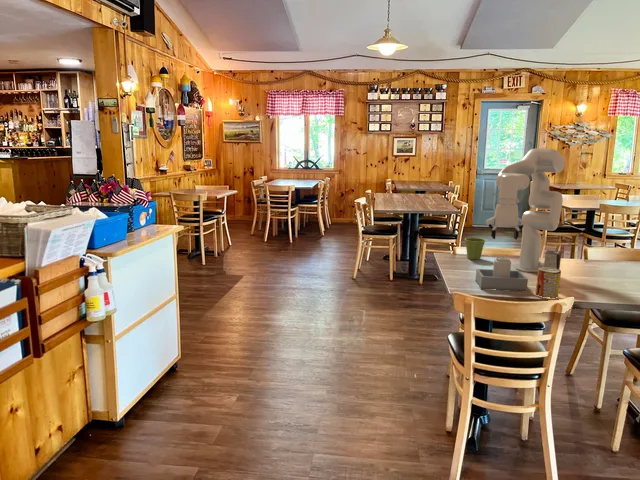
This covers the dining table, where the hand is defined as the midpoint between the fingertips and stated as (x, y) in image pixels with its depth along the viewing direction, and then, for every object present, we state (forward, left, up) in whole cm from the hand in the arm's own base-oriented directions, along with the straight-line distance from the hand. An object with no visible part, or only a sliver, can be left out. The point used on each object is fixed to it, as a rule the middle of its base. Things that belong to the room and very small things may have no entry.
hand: (504, 238), depth 217 cm
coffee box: (-24, -4, -23) cm, 33 cm away
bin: (0, +2, -22) cm, 23 cm away
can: (0, +2, -21) cm, 21 cm away
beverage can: (-17, +14, -23) cm, 31 cm away
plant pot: (+3, -52, -23) cm, 57 cm away
